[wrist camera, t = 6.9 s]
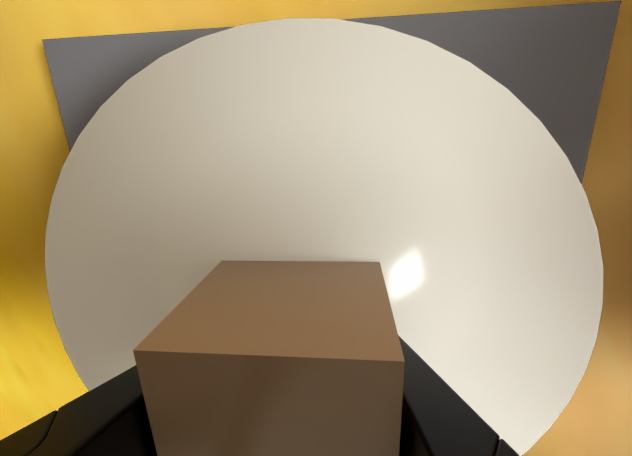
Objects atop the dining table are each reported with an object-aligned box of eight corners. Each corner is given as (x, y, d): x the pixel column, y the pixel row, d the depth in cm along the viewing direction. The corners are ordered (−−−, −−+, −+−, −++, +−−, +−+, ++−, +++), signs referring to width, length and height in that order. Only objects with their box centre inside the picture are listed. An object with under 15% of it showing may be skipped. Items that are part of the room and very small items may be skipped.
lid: (131, 465, 12) (8, 653, 8) (21, 53, 8) (-372, -45, 4) (523, 497, 11) (644, 749, 6) (631, 14, 7) (1193, -221, 2)
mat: (150, 429, 15) (141, 442, 14) (59, 45, 10) (42, 39, 9) (512, 455, 13) (519, 470, 12) (602, 9, 8) (621, 0, 8)
